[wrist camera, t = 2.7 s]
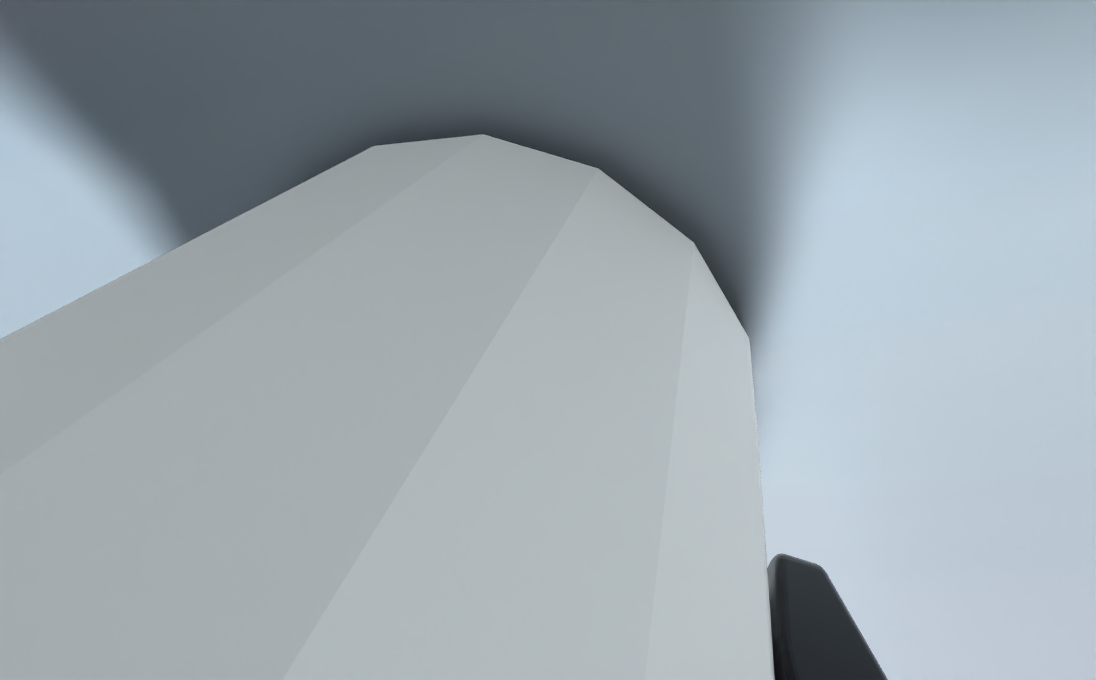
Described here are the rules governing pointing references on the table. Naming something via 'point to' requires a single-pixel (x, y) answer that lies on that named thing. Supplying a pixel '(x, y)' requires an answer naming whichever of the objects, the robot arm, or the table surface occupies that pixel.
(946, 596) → the table surface
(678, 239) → the shot glass
